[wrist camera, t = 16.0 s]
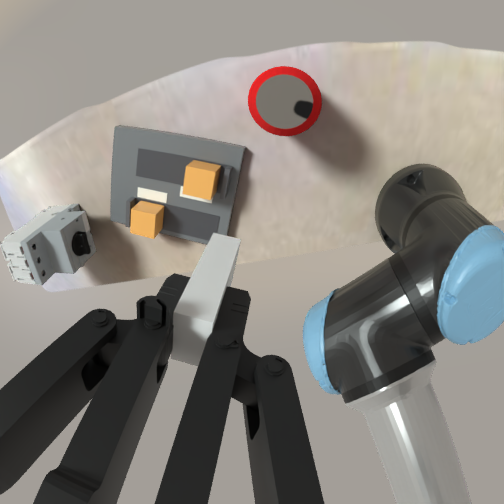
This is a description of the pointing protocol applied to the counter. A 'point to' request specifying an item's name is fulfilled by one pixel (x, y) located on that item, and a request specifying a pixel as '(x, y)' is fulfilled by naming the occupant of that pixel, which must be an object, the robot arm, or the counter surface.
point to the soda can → (284, 101)
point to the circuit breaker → (49, 245)
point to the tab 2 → (201, 179)
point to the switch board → (172, 180)
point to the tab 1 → (147, 219)
